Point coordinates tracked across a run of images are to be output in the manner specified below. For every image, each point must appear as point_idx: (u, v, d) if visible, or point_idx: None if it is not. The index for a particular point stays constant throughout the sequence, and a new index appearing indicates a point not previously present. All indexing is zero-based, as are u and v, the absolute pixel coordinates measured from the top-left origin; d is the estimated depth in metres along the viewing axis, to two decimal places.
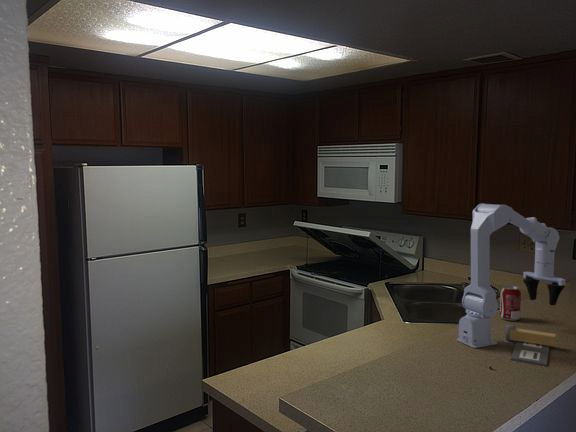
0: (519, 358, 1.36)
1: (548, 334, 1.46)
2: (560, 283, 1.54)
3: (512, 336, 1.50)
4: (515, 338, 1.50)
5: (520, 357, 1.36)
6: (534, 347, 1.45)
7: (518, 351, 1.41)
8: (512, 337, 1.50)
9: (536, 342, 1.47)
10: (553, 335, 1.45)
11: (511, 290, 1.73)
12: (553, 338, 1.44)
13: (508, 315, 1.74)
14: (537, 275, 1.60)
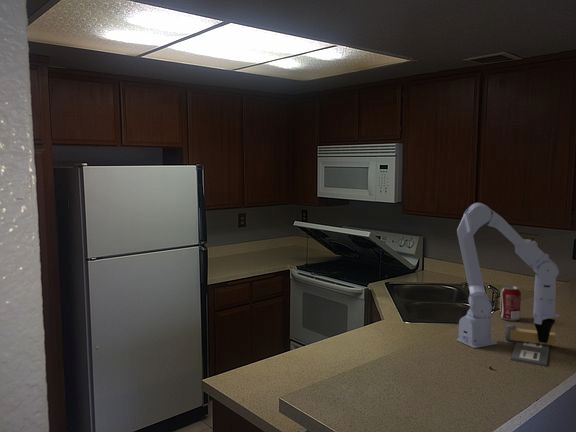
0: (519, 358, 1.36)
1: None
2: (534, 321, 1.40)
3: (513, 336, 1.50)
4: (516, 338, 1.50)
5: (520, 357, 1.36)
6: (534, 347, 1.45)
7: (518, 351, 1.41)
8: (513, 337, 1.50)
9: (537, 341, 1.47)
10: (553, 334, 1.46)
11: (511, 290, 1.73)
12: (554, 337, 1.45)
13: (508, 315, 1.74)
14: None
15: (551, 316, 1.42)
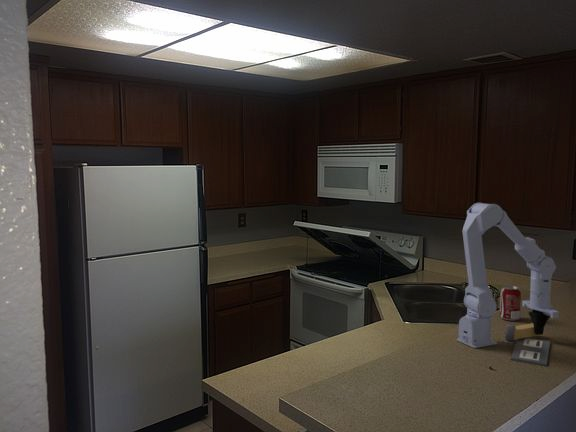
0: (519, 358, 1.36)
1: None
2: (552, 315, 1.46)
3: (516, 335, 1.51)
4: (518, 337, 1.51)
5: (520, 357, 1.36)
6: (534, 347, 1.45)
7: (518, 351, 1.41)
8: (516, 336, 1.51)
9: (531, 335, 1.53)
10: None
11: (511, 290, 1.73)
12: None
13: (508, 315, 1.74)
14: (531, 305, 1.52)
15: None
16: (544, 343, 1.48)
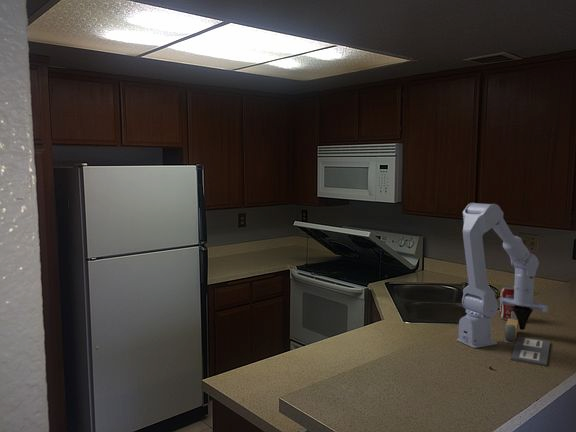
0: (519, 358, 1.36)
1: (512, 320, 1.61)
2: (544, 310, 1.52)
3: (516, 334, 1.52)
4: None
5: (520, 357, 1.36)
6: (534, 347, 1.45)
7: (518, 351, 1.41)
8: (516, 335, 1.52)
9: None
10: (515, 319, 1.62)
11: (511, 290, 1.73)
12: None
13: (508, 315, 1.74)
14: (519, 302, 1.56)
15: None
16: (544, 343, 1.48)
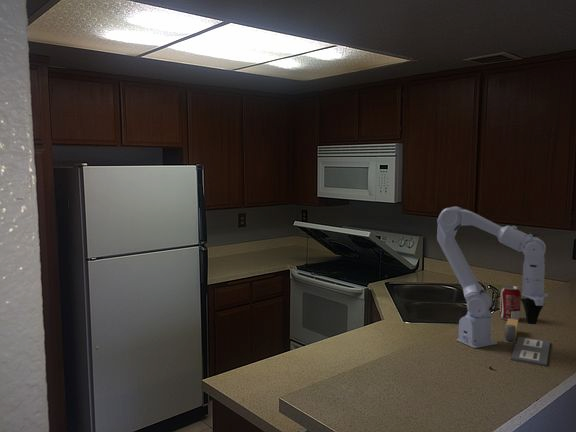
0: (519, 358, 1.36)
1: (512, 320, 1.61)
2: (536, 303, 1.36)
3: (516, 334, 1.52)
4: None
5: (520, 357, 1.36)
6: (534, 347, 1.45)
7: (518, 351, 1.41)
8: (516, 335, 1.52)
9: None
10: (515, 319, 1.62)
11: (511, 290, 1.73)
12: None
13: (508, 315, 1.74)
14: (522, 292, 1.43)
15: (543, 296, 1.40)
16: (544, 343, 1.48)
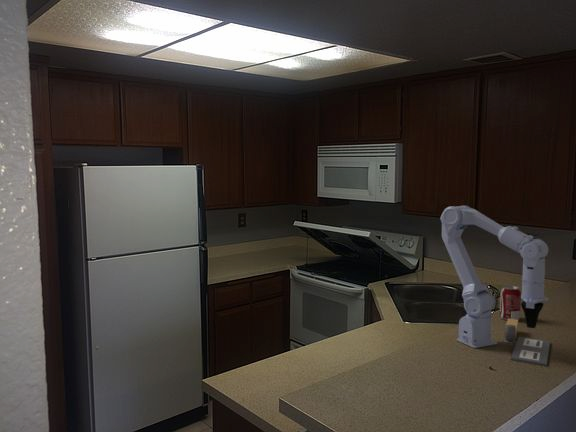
0: (519, 358, 1.36)
1: (512, 320, 1.61)
2: (526, 305, 1.33)
3: (516, 334, 1.52)
4: None
5: (520, 357, 1.36)
6: (534, 347, 1.45)
7: (518, 351, 1.41)
8: (516, 335, 1.52)
9: None
10: (515, 319, 1.62)
11: (511, 290, 1.73)
12: None
13: (508, 315, 1.74)
14: None
15: (541, 300, 1.36)
16: (544, 343, 1.48)
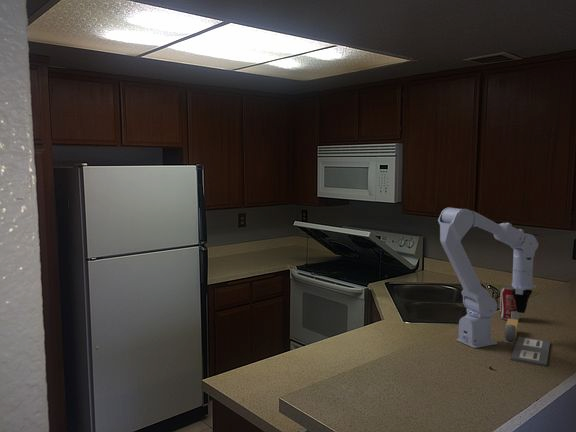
0: (519, 358, 1.36)
1: (512, 320, 1.61)
2: (515, 291, 1.48)
3: (516, 334, 1.52)
4: None
5: (520, 357, 1.36)
6: (534, 347, 1.45)
7: (518, 351, 1.41)
8: (516, 335, 1.52)
9: None
10: (515, 319, 1.62)
11: (511, 290, 1.73)
12: None
13: (508, 315, 1.74)
14: (512, 282, 1.55)
15: (530, 287, 1.50)
16: (544, 343, 1.48)
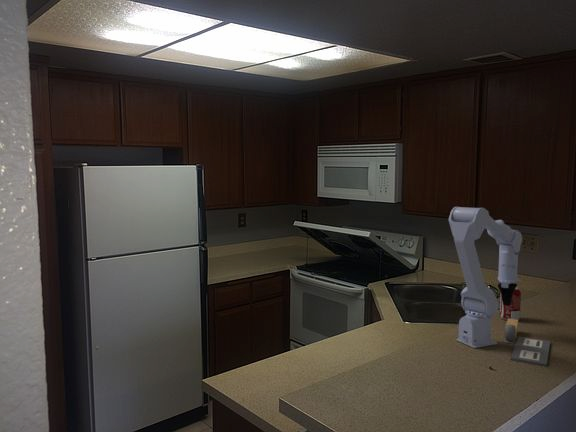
0: (519, 358, 1.36)
1: (512, 320, 1.61)
2: (501, 285, 1.54)
3: (516, 334, 1.52)
4: None
5: (520, 357, 1.36)
6: (534, 347, 1.45)
7: (518, 351, 1.41)
8: (516, 335, 1.52)
9: None
10: (515, 319, 1.62)
11: None
12: None
13: (508, 315, 1.74)
14: (498, 276, 1.61)
15: (515, 280, 1.57)
16: (544, 343, 1.48)
